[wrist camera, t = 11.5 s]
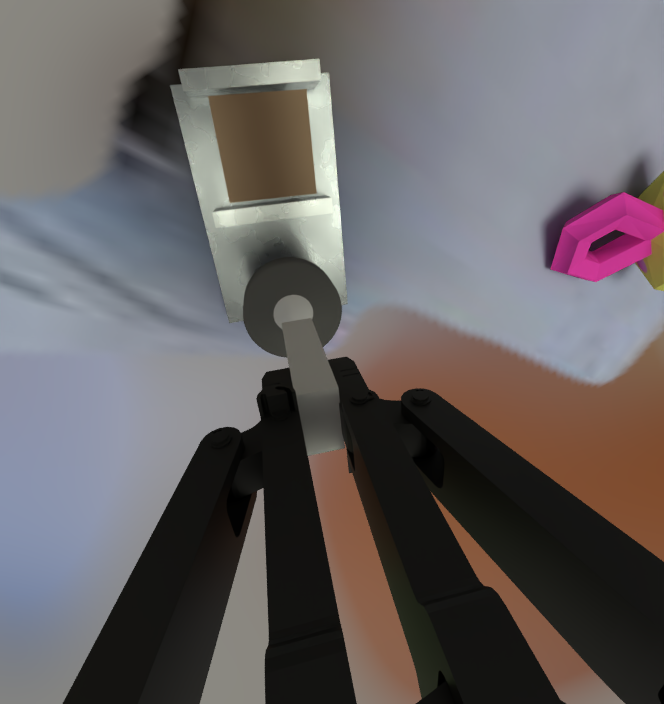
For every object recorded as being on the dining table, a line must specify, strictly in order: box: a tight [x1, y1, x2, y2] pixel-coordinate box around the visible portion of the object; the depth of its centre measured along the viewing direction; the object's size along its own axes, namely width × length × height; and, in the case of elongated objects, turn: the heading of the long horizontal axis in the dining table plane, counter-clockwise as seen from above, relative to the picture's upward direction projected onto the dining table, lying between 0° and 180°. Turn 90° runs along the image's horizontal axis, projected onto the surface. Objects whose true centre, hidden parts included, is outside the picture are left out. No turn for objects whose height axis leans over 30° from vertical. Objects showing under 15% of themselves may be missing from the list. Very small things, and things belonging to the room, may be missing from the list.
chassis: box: [170, 59, 347, 323], centre depth 26 cm, size 10×16×4 cm, turn 6°
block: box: [208, 89, 317, 203], centre depth 22 cm, size 5×5×6 cm
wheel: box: [243, 257, 342, 357], centre depth 24 cm, size 6×6×4 cm
